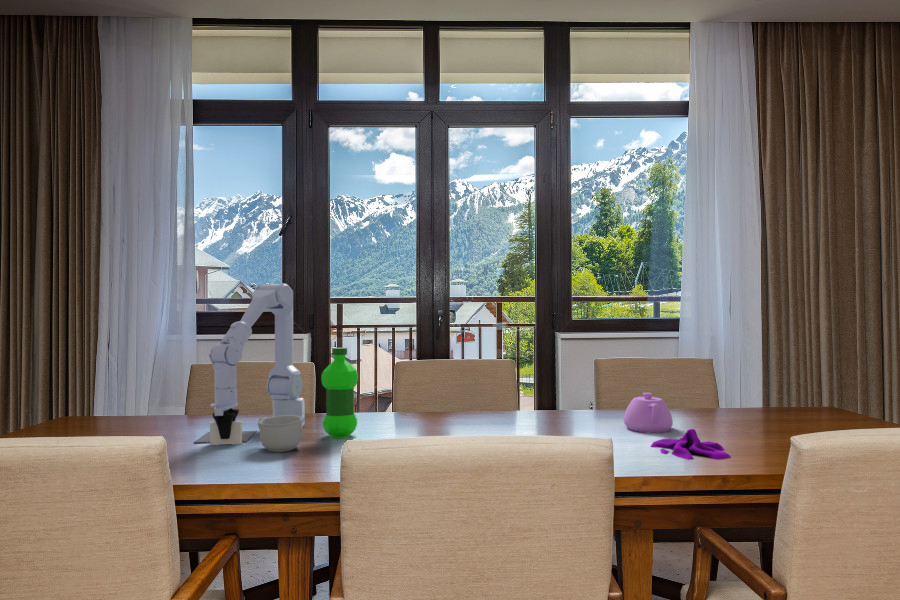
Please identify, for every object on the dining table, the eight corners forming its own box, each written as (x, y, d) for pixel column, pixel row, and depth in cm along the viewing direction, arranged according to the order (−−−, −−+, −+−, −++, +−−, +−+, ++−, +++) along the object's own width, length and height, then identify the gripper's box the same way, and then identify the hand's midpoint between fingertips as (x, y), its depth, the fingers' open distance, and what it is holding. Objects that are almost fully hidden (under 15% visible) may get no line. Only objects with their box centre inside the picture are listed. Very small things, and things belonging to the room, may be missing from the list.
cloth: (646, 442, 170) (645, 419, 170) (719, 445, 166) (718, 421, 166) (656, 463, 148) (656, 437, 148) (741, 467, 144) (740, 440, 144)
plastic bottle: (318, 434, 181) (317, 347, 181) (353, 431, 185) (353, 346, 185) (325, 441, 171) (324, 350, 171) (363, 437, 176) (362, 348, 176)
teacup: (310, 449, 163) (309, 418, 163) (271, 456, 155) (271, 424, 155) (283, 441, 173) (283, 411, 173) (246, 447, 165) (246, 417, 165)
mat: (256, 432, 184) (256, 430, 184) (246, 442, 172) (246, 440, 172) (207, 433, 183) (207, 432, 183) (193, 443, 170) (193, 442, 170)
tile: (242, 442, 171) (241, 420, 171) (240, 444, 169) (240, 422, 169) (211, 443, 170) (211, 421, 170) (210, 445, 168) (209, 422, 168)
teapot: (662, 422, 195) (661, 387, 195) (681, 435, 175) (680, 397, 175) (617, 421, 196) (616, 387, 196) (630, 435, 176) (630, 397, 176)
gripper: (218, 384, 176) (218, 432, 176) (202, 391, 162) (202, 444, 162) (243, 383, 177) (244, 432, 177) (230, 391, 163) (230, 443, 163)
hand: (226, 437), depth 170 cm, fingers closed on tile, 2 cm apart
